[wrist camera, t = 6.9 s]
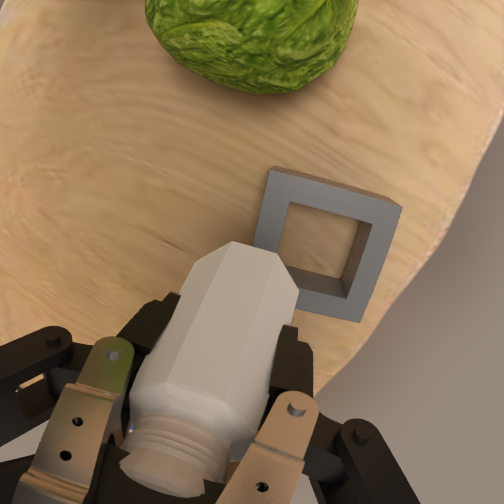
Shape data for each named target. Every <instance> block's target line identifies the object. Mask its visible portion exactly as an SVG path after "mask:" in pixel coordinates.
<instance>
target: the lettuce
mask: <svg viewBox="0 0 504 504" xmlns="http://www.w3.org/2000/svg"><path fill="white" fill-rule="evenodd" d="M357 9H358V0H145V15H146V19H147V23H148V25H149V26H150V28H151V30H152V31H153V33H154V35H155V36H156V38H157V40H158V41H159V43H160V44H161V45H162V46H163V47H164V49H165V50H166V51H167V52H168V53H169V54H170V55H171V56H172V57H173V58H174V59H175V60H176V61H177V62H178V63H180V64H181V65H183V66H184V67H186V68H187V69H189V70H191V71H193V72H195V73H197V74H198V75H200V76H203V77H205V78H207V79H209V80H211V81H213V82H216V83H219V84H221V85H224V86H228V87H231V88H234V89H237V90H241V91H244V92H248V93H253V94H272V93H288V92H293V91H297V90H298V89H300V88H301V87H303V86H304V85H306V84H307V83H309V82H310V81H312V80H313V79H315V78H316V77H318V76H319V75H321V74H322V73H324V72H326V71H327V70H329V69H330V68H332V67H333V66H334V65H335V63H336V61H337V60H338V58H339V56H340V55H341V53H342V51H343V50H344V48H345V47H346V44H347V41H348V38H349V35H350V32H351V29H352V26H353V23H354V20H355V16H356V12H357Z"/></svg>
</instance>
